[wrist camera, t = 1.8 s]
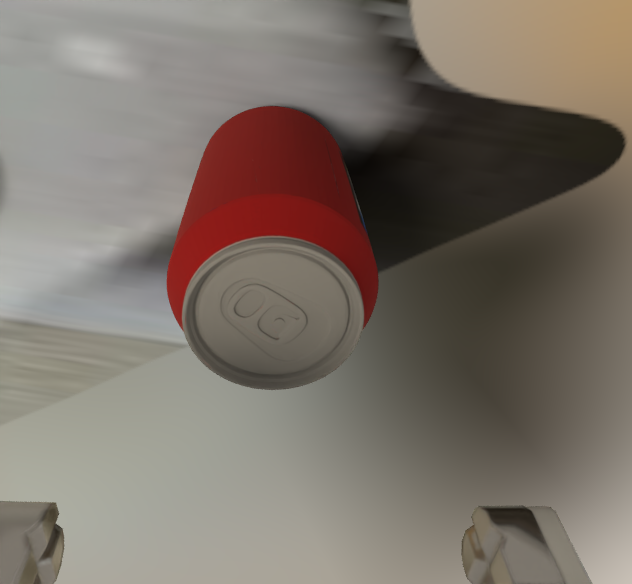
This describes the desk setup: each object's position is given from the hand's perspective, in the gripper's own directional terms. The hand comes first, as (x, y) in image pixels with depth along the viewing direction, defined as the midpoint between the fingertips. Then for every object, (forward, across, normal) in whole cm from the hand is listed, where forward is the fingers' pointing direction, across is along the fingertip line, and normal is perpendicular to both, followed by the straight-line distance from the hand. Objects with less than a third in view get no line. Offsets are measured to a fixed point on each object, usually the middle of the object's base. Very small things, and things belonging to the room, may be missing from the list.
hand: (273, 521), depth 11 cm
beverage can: (+19, 0, 0) cm, 19 cm away
